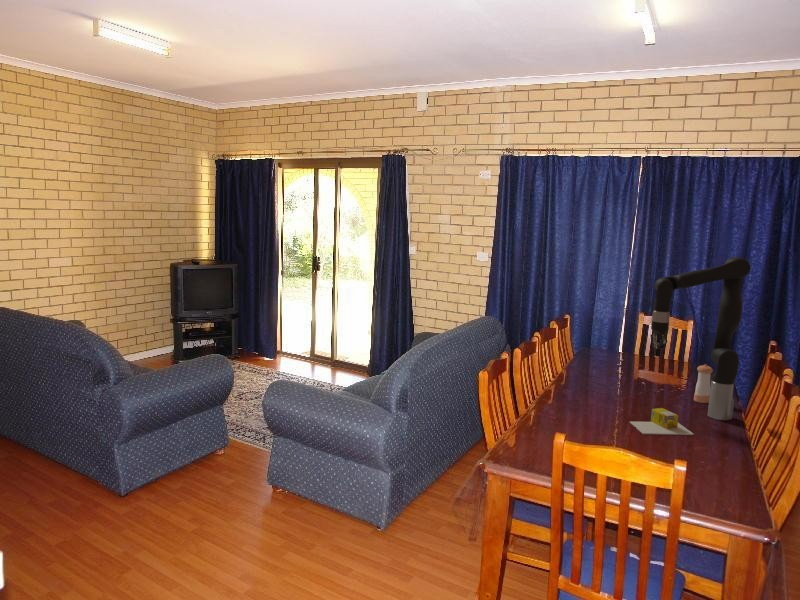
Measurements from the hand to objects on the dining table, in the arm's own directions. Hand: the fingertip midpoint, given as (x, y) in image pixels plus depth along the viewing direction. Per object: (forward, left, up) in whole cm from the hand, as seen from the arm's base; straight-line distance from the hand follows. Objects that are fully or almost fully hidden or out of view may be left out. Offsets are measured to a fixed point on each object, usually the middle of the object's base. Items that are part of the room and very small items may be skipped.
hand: (657, 356), depth 273 cm
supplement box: (+6, +14, -24) cm, 28 cm away
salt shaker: (-33, -16, -27) cm, 46 cm away
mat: (+7, +24, -27) cm, 37 cm away
